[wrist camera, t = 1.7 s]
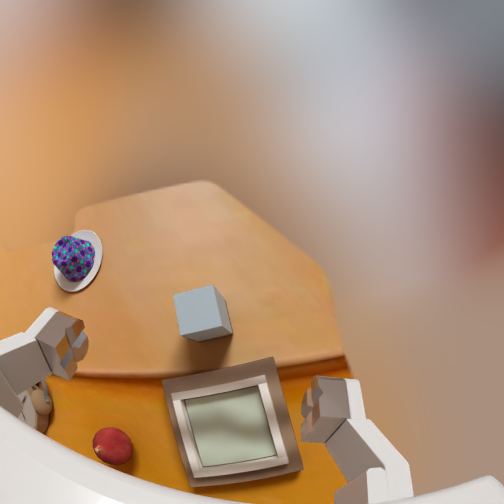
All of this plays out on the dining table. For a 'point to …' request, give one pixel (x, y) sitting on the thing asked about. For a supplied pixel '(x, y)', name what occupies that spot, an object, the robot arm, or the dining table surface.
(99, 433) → the onion
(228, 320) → the light blue-grey block
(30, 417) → the alarm clock
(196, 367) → the dining table surface
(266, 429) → the tray
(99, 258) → the purple and white hat
